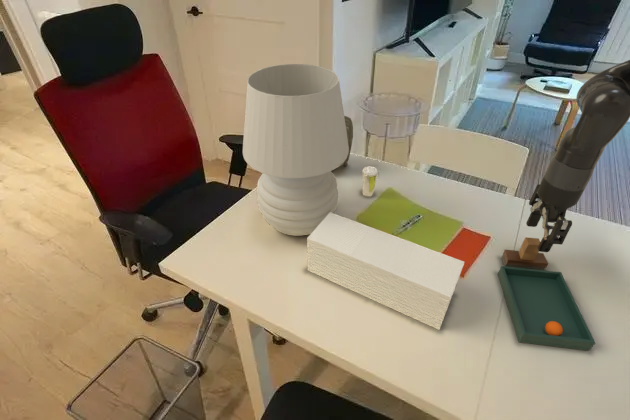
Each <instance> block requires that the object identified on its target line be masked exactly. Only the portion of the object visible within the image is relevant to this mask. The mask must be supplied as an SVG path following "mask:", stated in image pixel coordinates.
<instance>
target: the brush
mask: <svg viewBox="0 0 630 420" xmlns="http://www.w3.org/2000/svg"><path fill="white" fill-rule="evenodd" d="M540 242H541V240H540V238H539V237H538V238H537V237H527V236H526V237H524V239H523V241H522V244H521V245H520V248H519V250H514V249H504V250H503V252H502V256H501V258H500V260H501V262H502V266H505V267H515V268H525V269H535V270H546V268H547V266H548V265H549V262H548V260H547V258H546V256H545V254H544V253H545V252H539V250H538V246H539V244H540Z"/></svg>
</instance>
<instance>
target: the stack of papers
mask: <svg viewBox="0 0 630 420" xmlns="http://www.w3.org/2000/svg"><path fill="white" fill-rule="evenodd" d="M306 241H307V242H306V250H307V251H306V253H307V254H306V255H307V261H306V263H307V271H308V272H310V273H312V274H313V275H317V276H319V277H320V278H323V279H326V280H328V281H330V282H331V283H334V284H336V285H339V286H341V287H342V288H346V289H347V290H350V291H353V292H354V293H356V294H358V295H360V296H363V297H365V298H367V299H370V300H371V301H373V302H376V303H379V304H380V305H383V306H385V307H388V308H390V309H392V310H393V311H397V312H399V313H401V314H402V315H405V316H408V317H410V318H411V319H414V320H416V321H417V322H421V323H423V324H425V325H426V326H429V327H431V328H433V329H436V330H438V331H440V330H441V327H442V324H443V321H444V319H445V317H446V314H447V311H448V308H449V306H450V303H451V301H452V298H453V295H454V293H455V290H456V287H457V284H458V281H459V279H460V276H461V274H462V271H463V269H464V266H465V261H464V260H461V259H460V258H459V259H458V258H456V257H453V256H450V255H448V254H444V253H442V252H440V251H437V250H434V249H432V248H429V247H426V246H423V245H420V244H417V243H415V242H413V241H410V240H408V239H404V238H402V237H399V236H396V235H393V234H390V233H388V232H385V231H383V230H380V229H378V228H375V227H371V226H370V225H367V224H364V223H361V222H358V221H356V220H352V219H350V218H348V217H345V216H341V215H340V214H336V213H331V212H330V213H329V214H328V215H327V216H326V217H325V218H324V220H323V221H322V222H321V223H320V224H319V225H318V226H317V228H316V229H315V230H314V231H313V232H312V233H311V234H308V236H307V238H306Z"/></svg>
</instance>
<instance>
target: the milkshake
mask: <svg viewBox="0 0 630 420" xmlns="http://www.w3.org/2000/svg"><path fill="white" fill-rule="evenodd" d="M380 171H381V169H379V170H378V169H377V168H376V167H374V166H370V165H367V166H365V167H364V168H362V195H363V197H368V198H369V197H370V198H371V197H373V196H374V193H375V187H376V184H377V183H376V182H377V178H378V175H379V172H380Z"/></svg>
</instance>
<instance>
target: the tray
mask: <svg viewBox="0 0 630 420" xmlns="http://www.w3.org/2000/svg"><path fill="white" fill-rule="evenodd" d="M497 276H498V280H499V283H500V287H501V290H502V292H503V293H502V294H503V296H504V299H505V302H506V306H507V308H508V309H507V310H508V312H509V315H510V319H511V321H512V325H513V328H514V331H515V334H516V335H515V336H516V338H517V341H518V343H523V344H533V345H540V346H548V347H556V348H564V349H572V350H579V351H587V352H589V351H591V349H592V348H593V347H594V346H595V344H596V341H595V338H594V337H593V335H592V332H591V331H590V328H589V326H588V325H587V322H586V320H585V318H584V316H583V314H582V312H581V310H580V308H579V306H578V304H577V302H576V300H575V298H574V296H573V293H572V292H571V290H570V288H569V285H568V284H567V281H566V279H565V276H564V274H563V273H562V271H554V270H546V269H544V270H535V269H525V268H515V267H505V266H503V265H501V266H500V268H499V270H498V272H497ZM550 321H555V322H558V323H559V324H560V325H561V326H562V328H563V332H562V334H561V335H560V336H553V335H549V334H548V333H547V332H546V330H545V325H546V324H547V323H548V322H550Z"/></svg>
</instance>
